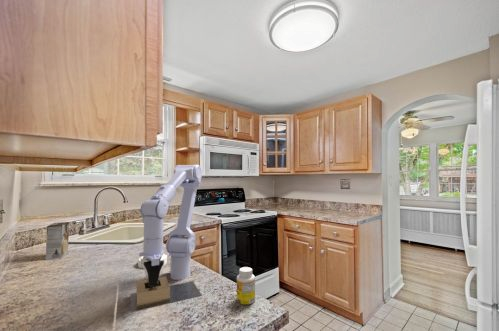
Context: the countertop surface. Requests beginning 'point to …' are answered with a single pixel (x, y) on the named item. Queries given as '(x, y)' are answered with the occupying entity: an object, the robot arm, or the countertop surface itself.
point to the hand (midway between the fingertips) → (152, 281)
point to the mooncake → (160, 260)
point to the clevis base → (174, 295)
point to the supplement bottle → (245, 286)
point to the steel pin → (147, 273)
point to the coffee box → (57, 240)
